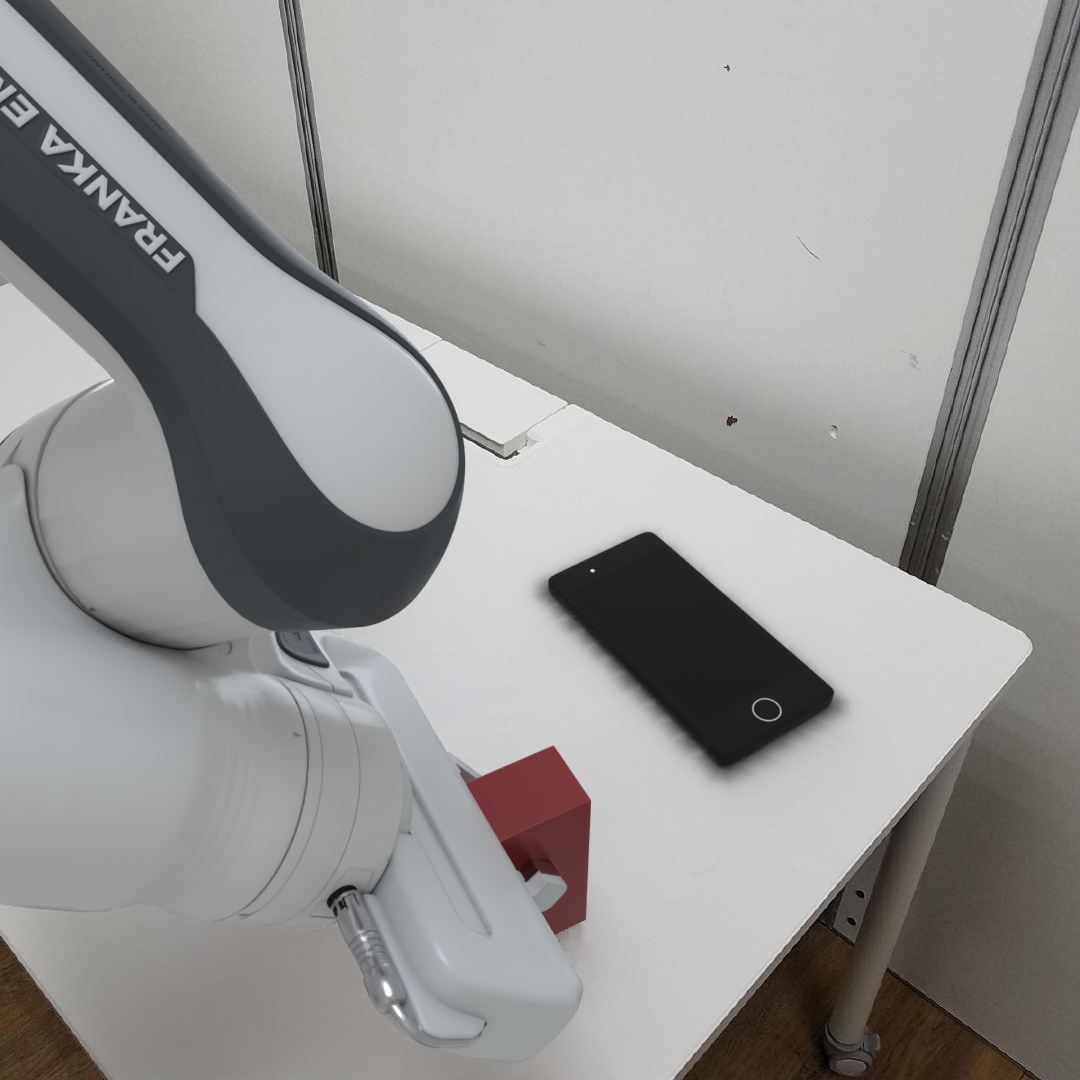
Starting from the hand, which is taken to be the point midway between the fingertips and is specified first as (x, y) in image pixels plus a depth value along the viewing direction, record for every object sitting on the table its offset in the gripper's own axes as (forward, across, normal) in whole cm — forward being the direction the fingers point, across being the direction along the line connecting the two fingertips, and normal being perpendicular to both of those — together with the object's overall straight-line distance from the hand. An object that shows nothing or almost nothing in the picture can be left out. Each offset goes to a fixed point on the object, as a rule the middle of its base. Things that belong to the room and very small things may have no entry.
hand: (525, 845), depth 52 cm
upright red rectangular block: (+4, 0, +5) cm, 6 cm away
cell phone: (+17, +12, -8) cm, 22 cm away
